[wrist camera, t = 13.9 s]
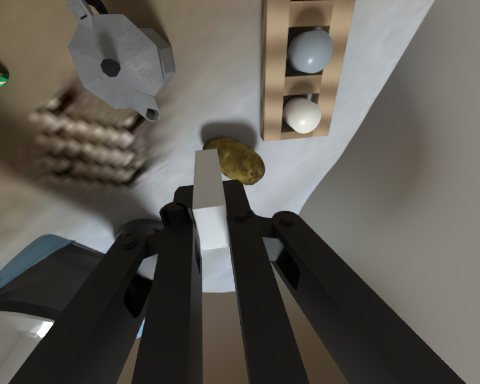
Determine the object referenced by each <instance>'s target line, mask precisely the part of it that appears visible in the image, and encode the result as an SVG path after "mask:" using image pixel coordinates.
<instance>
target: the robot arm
mask: <svg viewBox="0 0 480 384" xmlns="http://www.w3.org/2000/svg"><path fill="white" fill-rule="evenodd" d="M159 213H160V216H161V219H162V222H163V223H161V222H159V221H155V220H149V219H141V220H135V221H132V222H129V223H127V224H125V225H124V226H123V227H122V228H121V229H120V230H119V232H118V234H117V236H116V239H115V242H114V243H113V245H112V246H111V247H110V249H109V250H108V251H107V253H106V254H104V253H102V252H99V251H97V250H94V249H92V248H89V247H87V246H85V245H82V244H80V243H77V242H75V240H68V239H66V238H63V237H60V236H57V235H53V234H47V235H43V236H41V237H39V238H37V239H36V240H34V241H33V242H32V243H30V244H29V245H28V246H27V247H26V248H24V249H23V250H22V251H21V252H20V253H19V254H18V255H16V256H15V257H14V258H13V259H12V260H11V261H10V262H9V263H8V264H7V265H6V266H5V267H4V268H3V269H1V270H0V384H116V383H117V381H118V379H119V376H120V374H121V372H122V369H123V367H124V365H125V362H126V360H127V358H128V355H129V353H130V351H131V348H132V346H133V344H134V341H135V339H136V338H138V337H141V340H140V345H139V349H138V354H137V360H136V364H135V369H134V374H133V379H132V383H131V384H203V356H202V355H203V353H202V350H203V348H202V258H201V253H200V247H201V251H202V250H208V249H215V248H222V247H229V246H230V253H231V263H232V268H233V275H234V282H235V289H236V296H237V303H238V310H239V318H240V325H241V331H242V339H243V346H244V353H245V360H246V366H247V374H248V381H249V384H309V381H308V378H307V374H306V371H305V368H304V365H303V362H302V359H301V356H300V353H299V350H298V346H297V343H296V340H295V337H294V334H293V331H292V328H291V325H290V322H289V319H288V316H287V312H286V310H285V306H284V303H283V300H282V297H281V294H280V291H279V288H278V285H277V281H276V278H275V275H274V272H273V269H272V266H271V263H272V264H273V266H274V268H275V269H276V270H277V272H278V274H279V275H280V277H281V279H282V280H283V282H284V283H285V284H286V286H287V288H288V289H289V291H290V293H291V294H292V295H293V297H294V299H295V300H296V302H297V303H298V305H299V306H300V308H301V310H302V311H303V313H304V314H305V316H306V317H307V319H308V320H309V322H310V324H311V325H312V327H313V328H314V330H315V331H316V333H317V335H318V336H319V338H320V339H321V341H322V342H323V344H324V345H325V347H326V349H327V350H328V352H329V353H330V355H331V356H332V358H333V360H334V361H335V363H336V364H337V366H338V367H339V369H340V370H341V372H342V373H343V375H344V377H345V378H346V380H347V381H348V383H349V384H466V383H465V382H464V381H463V380H462V379H461V378H460V377H459V376H458V375H457V374H456V373H455V372H454V371H453V370H452V369H451V368H450V367H449V366H448V365H447V364H446V363H445V362H444V361H443V360H442V359H441V358H440V357H439V356H438V355H437V354H436V353H435V352H434V351H433V350H432V349H431V348H430V347H429V346H428V345H427V344H426V343H425V342H424V341H423V340H422V339H421V338H420V337H419V336H418V335H417V334H416V333H415V332H414V331H413V330H412V329H411V328H410V327H409V326H408V325H407V324H406V323H405V322H404V321H403V320H402V319H401V318H400V317H399V316H398V315H397V314H396V313H395V312H394V311H393V310H392V309H391V308H390V307H389V306H388V305H387V304H386V303H385V302H384V301H383V300H382V299H381V298H380V297H379V296H378V295H377V294H376V293H375V292H374V291H373V290H372V289H371V288H370V287H369V286H368V285H367V284H366V283H365V282H364V281H363V280H362V279H361V278H360V277H359V276H358V275H357V274H356V273H355V272H354V271H353V270H352V269H351V268H350V267H349V266H348V265H347V264H346V263H345V262H344V261H343V260H342V259H341V258H340V257H339V256H338V255H337V254H336V253H335V252H334V251H333V250H332V249H331V248H330V247H329V246H328V245H327V244H326V243H325V242H324V241H323V240H322V239H321V238H320V237H319V236H318V235H317V234H316V233H315V232H314V231H313V230H312V229H311V228H310V227H309V226H308V225H307V224H306V222H304V221H303V220H302V218H300V217H299V216H298V215H297V214H295V213H293V212H290V211H280V212H277V213H275V214H274V215H273V217H272V218H265V217H260V216H258V215H256V214H254V212H253V211H252V210H251V209H250V205H249V202H248V199H247V196H246V193H245V189H244V186H243V183H242V182H240V181H239V180H238V179H237V180H228V181H222V177H221V171H220V164H219V158H218V152H217V149H210V150H200V151H196V152H195V171H194V185H190V186H181V187H179V188H178V189H177V190H176V191H175V194H174V200H173V202H171V203H169V204H167V205H165V206H164V207H162V208H161V210H160V212H159ZM270 261H271V263H270Z"/></svg>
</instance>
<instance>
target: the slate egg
mask: <svg viewBox="0 0 480 384" xmlns="http://www.w3.org/2000/svg"><path fill="white" fill-rule="evenodd" d="M332 52H333V43H332V39H331V37H330V35H329V34H328V33H327V32H325V31H323V30H315V31H309V32H303V33H300V34H298V35H297V36H295V37H294V38H293V40H292V41H291V43H290V45H289V47H288V52H287V58H288V62H289V64H290V66H291V67H292V68H293V69H295V70H298V71H302V72H307V73H316V72H319V71H321V70H322V69H323V68H324V67H325V66H326V65H327V64H328V62H329V60H330V58H331V56H332Z"/></svg>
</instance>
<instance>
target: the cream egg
mask: <svg viewBox="0 0 480 384" xmlns="http://www.w3.org/2000/svg"><path fill="white" fill-rule="evenodd" d="M283 118H284V120H285V122H286V123H287V124H288V125H290V126H291V127H292V128H293V129H294V130H295V131H297V132H298V133H308V132H311V131H312V130H314V129H315V128H316V127H317V125H318V124H319V122H320V120H321V109H320V107H319V106H318V105H317V104H316V103H314V102H312V101H309V100H307V99H305V98H303V97H295V98H292V99H291V100H289V101H288V102H287V104H286V105H285V107H284V110H283Z"/></svg>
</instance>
